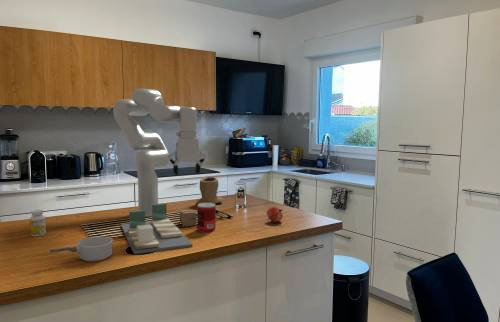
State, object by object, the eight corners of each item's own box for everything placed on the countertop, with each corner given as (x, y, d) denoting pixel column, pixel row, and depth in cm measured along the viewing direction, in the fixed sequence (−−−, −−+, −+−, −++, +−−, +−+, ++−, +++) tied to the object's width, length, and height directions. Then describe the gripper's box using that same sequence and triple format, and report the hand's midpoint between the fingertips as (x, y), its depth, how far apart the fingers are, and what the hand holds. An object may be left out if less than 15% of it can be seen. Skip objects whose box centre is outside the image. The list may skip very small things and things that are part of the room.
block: (137, 238, 146) (136, 225, 146) (150, 237, 148) (150, 224, 148) (139, 242, 142) (139, 229, 141) (153, 241, 144) (153, 227, 143)
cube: (179, 223, 177) (179, 210, 177) (192, 222, 180) (192, 209, 179) (183, 226, 172) (183, 213, 171) (196, 225, 174) (196, 212, 174)
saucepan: (45, 262, 129) (45, 245, 129) (105, 249, 142) (105, 234, 142) (55, 272, 121) (55, 255, 120) (118, 258, 134) (118, 242, 133)
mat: (121, 226, 170) (121, 224, 170) (169, 221, 179) (169, 219, 179) (134, 254, 137) (134, 251, 137) (192, 246, 146) (192, 244, 146)
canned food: (218, 227, 171) (218, 203, 169) (211, 233, 163) (211, 207, 162) (201, 226, 173) (201, 201, 172) (194, 231, 165) (194, 205, 164)
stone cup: (202, 207, 208) (202, 179, 206) (194, 202, 219) (194, 176, 217) (227, 204, 215) (228, 177, 214) (219, 200, 226) (219, 174, 224)
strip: (150, 222, 173) (149, 204, 172) (167, 220, 177) (167, 203, 176) (162, 238, 151) (161, 218, 150) (182, 235, 154) (182, 216, 153)
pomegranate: (265, 227, 180) (279, 217, 174) (258, 213, 183) (273, 203, 177) (275, 226, 186) (289, 216, 180) (268, 212, 188) (283, 202, 183)
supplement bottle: (31, 233, 159) (30, 209, 158) (46, 232, 161) (45, 209, 160) (29, 237, 154) (28, 213, 153) (44, 235, 156) (43, 212, 155)
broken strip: (127, 230, 160) (126, 211, 159) (146, 228, 164) (146, 209, 163) (136, 249, 138) (136, 227, 137) (159, 246, 142) (159, 225, 141)
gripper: (170, 135, 164) (169, 176, 167) (209, 136, 171) (208, 174, 174) (166, 134, 171) (165, 173, 173) (203, 134, 178) (202, 171, 181)
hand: (186, 173), depth 174 cm, fingers open, 9 cm apart
